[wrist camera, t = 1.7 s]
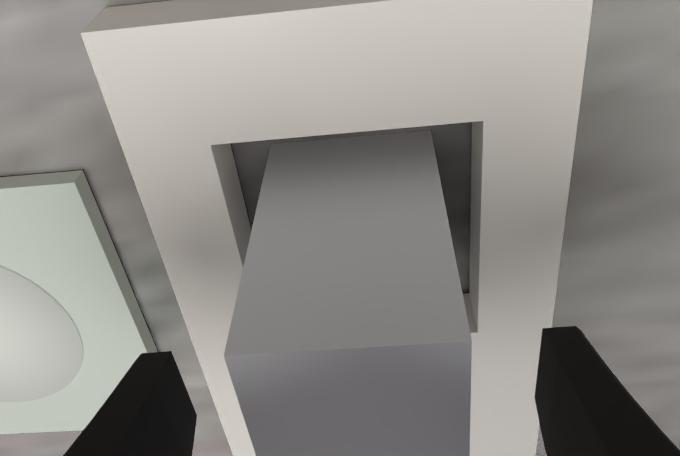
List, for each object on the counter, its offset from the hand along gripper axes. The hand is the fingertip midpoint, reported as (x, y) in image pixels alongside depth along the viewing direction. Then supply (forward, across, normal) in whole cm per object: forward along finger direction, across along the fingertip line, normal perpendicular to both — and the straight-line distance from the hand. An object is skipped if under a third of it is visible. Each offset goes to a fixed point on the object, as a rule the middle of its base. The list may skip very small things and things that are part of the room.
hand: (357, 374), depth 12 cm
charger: (+6, 0, 0) cm, 6 cm away
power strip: (+6, 0, +3) cm, 6 cm away
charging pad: (+6, +12, +3) cm, 14 cm away
